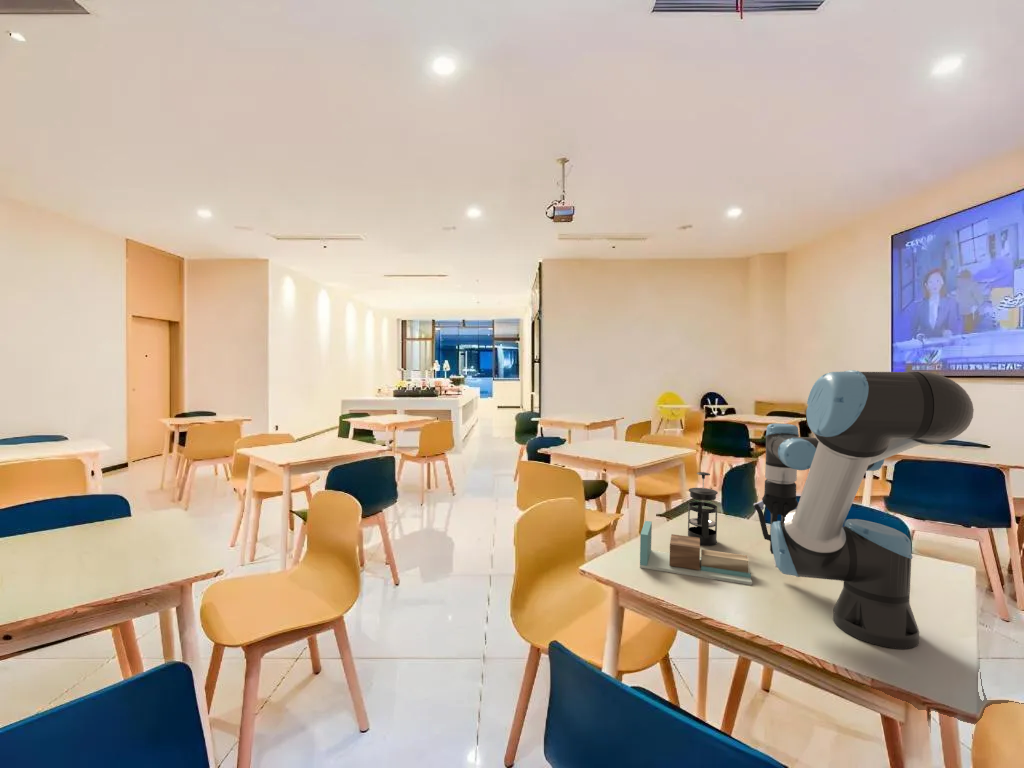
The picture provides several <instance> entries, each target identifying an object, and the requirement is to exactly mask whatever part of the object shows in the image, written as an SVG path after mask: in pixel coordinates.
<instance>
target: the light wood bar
mask: <svg viewBox="0 0 1024 768" xmlns="http://www.w3.org/2000/svg"><path fill="white" fill-rule="evenodd" d="M700 557H701V566H705V567H712V568H719V569H725V570H732V571H739V572H746V573H748V569H749V558H748V555H745V554H739V553H730V552H724V551H723V552H722V551H717V550H710V549H702V548H700Z"/></svg>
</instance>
